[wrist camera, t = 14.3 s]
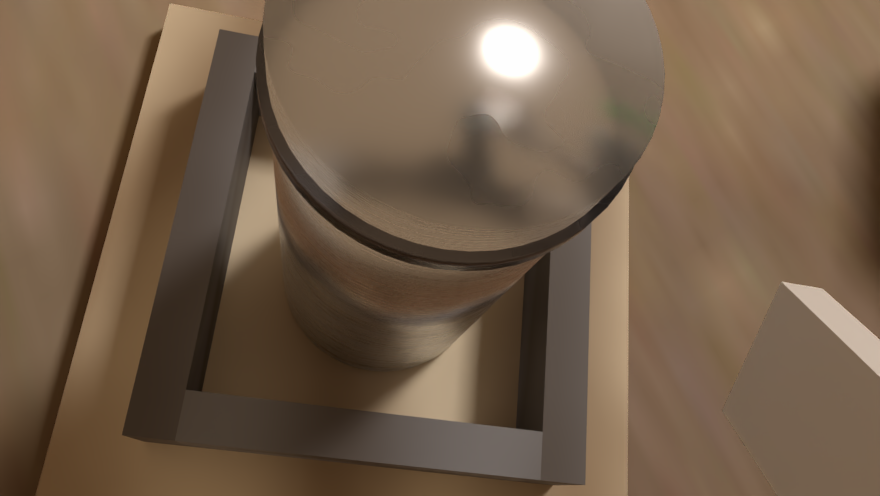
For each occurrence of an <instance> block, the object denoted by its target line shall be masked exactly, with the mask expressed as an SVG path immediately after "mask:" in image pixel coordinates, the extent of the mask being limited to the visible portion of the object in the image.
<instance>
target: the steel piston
mask: <svg viewBox="0 0 880 496" xmlns="http://www.w3.org/2000/svg"><path fill="white" fill-rule="evenodd" d="M664 77H665V72H664V61H663V51H662V47H661V43H660V39H659V34H658V30H657V27H656V25H655V22H654V19H653V17H652V14H651V11H650V9H649V7H648V5H647V3H646V1H645V0H265V7H264V15H263V23H262V26H261V29H260V33H259V37H258V45H257V53H256V83H257V92H258V101H259V106H260V112H261V117H262V123H263V126H264V129H265V132H266V135H267V138H268V141H269V144H270V146H271V148H272V151H273V163H274V175H275V187H276V199H277V212H278V224H279V236H280V248H281V260H282V272H283V284H284V290H285V295H286V299H287V302H288V305H289V308H290V311H291V313H292V315H293V317H294V319H295V321H296V322H297V324H298V325H299V327H300V328H301V330H302V331H303V333H304V334H305V335H306V336H307V337H308V338H309V339H310V341H311V342H312V343H314V344H315V345H316V346H317V347H318V348H319V349H320V350H322V351H323V352H325V353H326V354H328V355H329V356H331V357H332V358H334V359H336V360H338V361H340V362H342V363H344V364H347V365H350V366H353V367H356V368H359V369H364V370H370V371H383V372H387V371H399V370H404V369H409V368H413V367H415V366H418V365H421V364H424V363H426V362H428V361H430V360H432V359H433V358H435V357H437V356H438V355H440V354H441V353H443V352H444V351H445V350H447V349H448V348H449V347H450V346H451V345H452V344H453V343H454V342H455V341H456V340H457V339H458V338H459V337H460V336H461V335H462V334H463V333H464V332H465V331H467V330H468V329H469V328H470V327H471V326H472V325H473V324H474V323H475V322H476V321H477V320H478V319H479V318H480V317H481V316H482V315H483V314H484V313H485V312H486V311H487V310H488V309H489V308H490V307H491V306H492V305H493V304H494V303H495V302H496V301H497V300H498V299H499V298H501V297H502V296H503V295H504V294H505V293H506V292H507V291H508V290H509V289H510V288H511V287H512V286H513V285H514V284H515V283H516V282H517V281H518V280H519V279H520V278H521V277H522V276H523V275H524V274H525V273H526V272H527V271H528V270H529V269H530V268H531V267H532V266H533V265H535V264H536V263H537V262H538V261H539V260H540V259H541V258H542V257H543V256H544V255H545V254H547V253H549V252H551V251H553V250H555V249H557V248H559V247H561V246H562V245H564V244H565V243H566V242H568V241H569V240H571V239H572V238H574V237H575V236H577V235H578V234H579V233H580V232H581V231H583V230H584V229H585V228H586V227H587V226H588V225H589V224H590V223H591V222H592V221H593V220H594V219H595V218H597V217H598V216H599V215H600V214H601V213H602V212H603V211H604V210H605V209H606V208H607V207H608V206H609V205H610V203H611V202H612V201H613V200H614V198H615V197H616V196H617V195H618V193H619V192H620V191H621V189H622V188H623V186H624V184H625V182H626V180H627V179H628V177H629V175H630V173H631V172H632V170H633V167H634V165H635V164H636V163H637V161H638V160H639V159H640V158H641V156H642V154H643V152H644V151H645V149H646V147H647V145H648V143H649V142H650V140H651V138H652V136H653V133H654V130H655V127H656V125H657V122H658V119H659V116H660V111H661V106H662V101H663V96H664Z"/></svg>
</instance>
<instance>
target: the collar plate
mask: <svg viewBox="0 0 880 496" xmlns="http://www.w3.org/2000/svg"><path fill="white" fill-rule="evenodd" d="M262 23H263V21H259V20H254V19H249V18H243V17H238V16H233V15H228V14H223V13H218V12H212V11H207V10H202V9H197V8H192V7H187V6H181V5H176V4H171V3H170V5H169V9H168V13H167V16H166V20H165V24H164V27H163V31H162V35H161V38H160V42H159V45H158V49H157V53H156V56H155V60H154V64H153V67H152V71H151V75H150V78H149V82H148V86H147V89H146V93H145V97H144V100H143V104H142V108H141V111H140V115H139V119H138V122H137V126H136V129H135V133H134V137H133V140H132V144H131V148H130V151H129V155H128V159H127V162H126V166H125V170H124V173H123V177H122V181H121V184H120V188H119V192H118V195H117V199H116V202H115V206H114V210H113V213H112V217H111V221H110V224H109V228H108V232H107V235H106V239H105V243H104V246H103V250H102V254H101V257H100V261H99V265H98V268H97V272H96V276H95V279H94V283H93V286H92V290H91V294H90V297H89V301H88V305H87V308H86V312H85V316H84V319H83V323H82V327H81V330H80V334H79V338H78V341H77V345H76V349H75V352H74V356H73V359H72V363H71V367H70V370H69V374H68V378H67V381H66V385H65V389H64V392H63V396H62V400H61V403H60V407H59V411H58V414H57V418H56V422H55V425H54V429H53V433H52V436H51V440H50V443H49V447H48V451H47V454H46V458H45V462H44V465H43V469H42V473H41V476H40V480H39V484H38V487H37V491H36V495H35V496H628V281H629V177H628V179H627V180H626V182H625V184H624V186H623V188H622V189H621V191H620V192H619V193H618V195H617V196H616V197H615V198H614V200H613V201H612V202H611V203H610V205H609V206H608V207H607V208H606V209H605V210H604V211H603V212H602V213H601V214H600V215H599V216H598V217H597V218H595V219H594V220H593V221H592V222H591V223H590V224H589V225H588V226H587V227H586V228H585V229H584V230H583V231H581V232H580V233H579V234H578V235H577V236H575V237H574V238H572V239H571V240H569V241H568V242H566V243H565V244H564V245H562V246H561V247H559V248H557V249H555V250H553V251H551V252H549V253H547V254H545V255H544V256H543V257H542V258H541V259H540V260H539V261H538V262H537V263H536V264H535V265H533V266H532V267H531V268H530V269H529V270H528V271H527V272H526V273H525V274H524V275H523V276H522V277H521V278H520V279H519V280H518V281H517V282H516V283H515V284H514V285H513V286H512V287H511V288H510V289H509V290H508V291H507V292H506V293H505V294H504V295H503V296H502V297H501V298H499V299H498V300H497V301H496V302H495V303H494V304H493V305H492V306H491V307H490V308H489V309H488V310H487V311H486V312H485V313H484V314H483V315H482V316H481V317H480V318H479V319H478V320H477V321H476V322H475V323H474V324H473V325H472V326H471V327H470V328H469V329H468V330H467V331H465V332H464V333H463V334H462V335H461V336H460V337H459V338H458V339H457V340H456V341H455V342H454V343H453V344H452V345H451V346H450V347H449V348H448V349H447V350H445V351H444V352H443V353H441V354H440V355H438V356H437V357H435V358H433V359H432V360H430V361H428V362H426V363H424V364H421V365H418V366H415V367H413V368H409V369H404V370H399V371H387V372H383V371H370V370H364V369H359V368H356V367H353V366H350V365H347V364H344V363H342V362H340V361H338V360H336V359H334V358H332V357H331V356H329V355H328V354H326V353H325V352H323V351H322V350H320V349H319V348H318V347H317V346H316V345H315V344H314V343H312V342H311V341H310V339H309V338H308V337H307V336H306V335H305V334H304V333H303V331H302V330H301V328H300V327H299V325H298V324H297V322H296V321H295V319H294V317H293V315H292V313H291V311H290V308H289V305H288V302H287V299H286V295H285V290H284V284H283V272H282V260H281V248H280V236H279V224H278V212H277V199H276V187H275V175H274V163H273V151H272V148H271V146H270V144H269V141H268V138H267V135H266V132H265V129H264V126H263V123H262V117H261V112H260V106H259V101H258V92H257V83H256V53H257V45H258V37H259V33H260V29H261V26H262Z"/></svg>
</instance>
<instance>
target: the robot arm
mask: <svg viewBox="0 0 880 496" xmlns="http://www.w3.org/2000/svg"><path fill="white" fill-rule="evenodd" d="M722 412H723V413H724V415H725V416H726V418H727V419H728V421H729V422H730V424H731V425H732V427H733V429H734V430H735V432H736V433H737V435H738V436H739V438H740V439H741V441H742V442H743V444H744V446H745V447H746V449H747V450H748V452H749V453H750V455H751V456H752V458H753V459H754V461H755V463H756V464H757V466H758V467H759V469H760V470H761V472H762V473H763V475H764V476H765V478H766V480H767V481H768V483H769V484H770V486H771V487H772V489H773V490H774V492H775V493H776V495H777V496H880V339H878V338H877V337H876V336H875V335H874V334H873V333H872V332H871V331H869V330H868V329H867V328H866V327H865V326H864V325H863V324H862V323H860V322H859V321H858V320H857V319H856V318H855V317H854V316H853V315H851V314H850V313H849V312H848V311H847V310H846V309H845V308H844V307H842V306H841V305H840V304H839V303H838V302H837V301H836V300H835V299H833V298H832V297H831V296H830V295H829V294H828V293H827V292H826V291H824V290H823V289H822V288H816V287H810V286H804V285H798V284H792V283H786V282H781V284H780V286H779V288H778V290H777V292H776V294H775V297H774V299H773V301H772V303H771V305H770V307H769V310H768V312H767V314H766V316H765V318H764V320H763V322H762V325H761V327H760V329H759V331H758V333H757V335H756V338H755V340H754V342H753V344H752V346H751V348H750V351H749V353H748V355H747V357H746V359H745V361H744V364H743V366H742V368H741V370H740V372H739V374H738V377H737V379H736V381H735V383H734V385H733V387H732V390H731V392H730V394H729V396H728V398H727V400H726V402H725V405H724V407H723V409H722Z"/></svg>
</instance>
